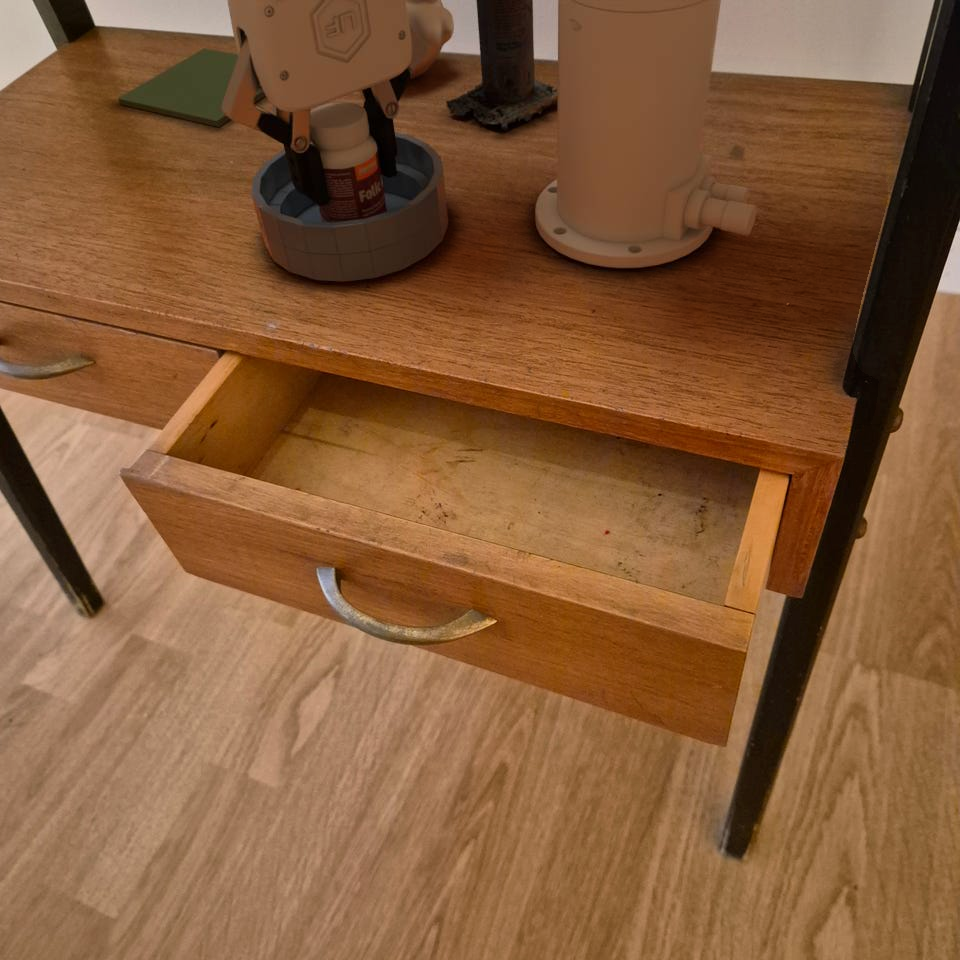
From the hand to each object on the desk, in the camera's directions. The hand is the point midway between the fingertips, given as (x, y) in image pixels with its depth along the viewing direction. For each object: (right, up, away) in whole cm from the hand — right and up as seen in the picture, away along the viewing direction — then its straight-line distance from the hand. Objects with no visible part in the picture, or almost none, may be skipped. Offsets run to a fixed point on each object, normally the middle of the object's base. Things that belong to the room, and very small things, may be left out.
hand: (348, 181), depth 61 cm
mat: (-16, +16, +21) cm, 31 cm away
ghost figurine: (+2, +17, +21) cm, 27 cm away
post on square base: (+12, +11, +15) cm, 22 cm away
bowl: (0, -3, +3) cm, 4 cm away
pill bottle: (0, -3, +3) cm, 4 cm away
